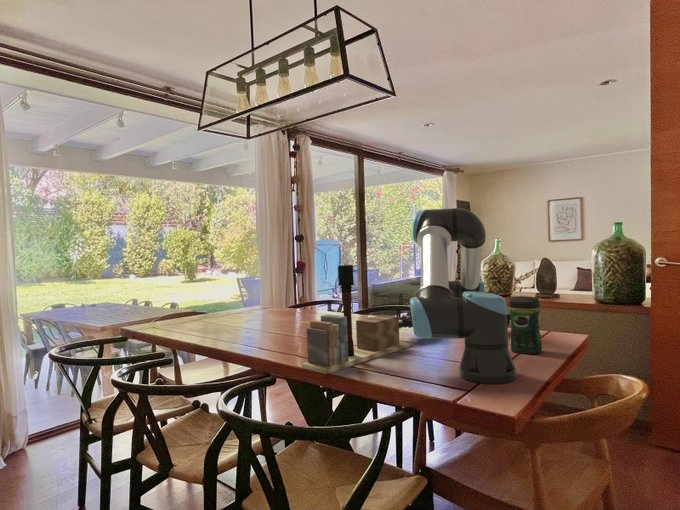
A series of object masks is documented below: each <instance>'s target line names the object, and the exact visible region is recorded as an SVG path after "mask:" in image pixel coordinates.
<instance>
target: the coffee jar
mask: <svg viewBox="0 0 680 510" xmlns="http://www.w3.org/2000/svg"><path fill="white" fill-rule="evenodd" d="M508 311H509V312H508V313H509V314H510V337H509V338H510V339H509V350H511V351H512V352H513V353H517V354H526V355H528V354H529V355H530V354H531V355H533V354H540V353H541V352H542V351H543V346H542V337H541V332H540V331H541V330H540V326H539V325H540V324H539V323H540V322H539V316H540V315H539V314H540V312H541V305H540V300H539V297H537V296H528V295H527V296H525V295H522V296H520V295H519V296H512V297H510V298H509V301H508Z"/></svg>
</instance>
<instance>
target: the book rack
mask: <svg viewBox="0 0 680 510" xmlns="http://www.w3.org/2000/svg"><path fill="white" fill-rule="evenodd" d="M399 341H400V344H398V345H395V346H392V347H389V348H386V349H382V350H379V351H376V352H372V351H367V350H361V349H357V346H356V347H354V356H348V334H347V317H344V315H343V316H341V315H334V314H324V315H320V320H317V319H316V320H315V319H314V320H310V321H309V327H306V344H307V347H306V348H307V361H305V362H301V369H304V370H308V371H312V372H316V373H320V374H324V375H328V374H330V373H333V372H336V371H340V370H343V369H345V368H348V367H352V366H355V365H359V364H361V363H364V362H368V361H370V360H373V359H376V358H380V357H382V356H385V355H388V354H391V353H395V352H397V351H400V350H403V349H407V348H410V347H412V346H413V341H410V340H409V341H408V340H403V339H399Z"/></svg>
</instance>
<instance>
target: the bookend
mask: <svg viewBox="0 0 680 510" xmlns="http://www.w3.org/2000/svg"><path fill="white" fill-rule="evenodd" d="M399 318H400V317H399V316H396V315H387V314H378V315H376V316H375V315H374V316H370V317H366V318H365V317H364V318H362V319H357V320H356V321H355V325H356V326H355V328H356V332H355V333H356V347H357V349H361V350H367V351H372V352H376V351H379V350H382V349H386V348H389V347H392V346H395V345H398V344H400V341H399V340H400V329H399Z"/></svg>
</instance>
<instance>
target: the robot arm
mask: <svg viewBox="0 0 680 510" xmlns="http://www.w3.org/2000/svg"><path fill="white" fill-rule="evenodd" d="M412 222H413V224H412V239H413V242H414V243H416V244H417V245H418V246H419V247H420V249H421V250H420V281H419V283H420V285H419V286H420V288H419V289H418V290H417V291H416V293H415V295H414V296H413V297H410V298H409V308H410V313H411V315H408V316H407V315H405V314H404V315H402V316H400V317H399V330H400V329H402V328H409V329H410V328H412V329H413V330H412V331H413V334H414V336H415V337H417V338H420V339H429V340H430V339H463V340H464V349H463V353H462V355H461V360H460V362H459V367H458V368H459V369H458V371H459V373H458V374H459V377H460V378H462V379H463V380H466V381H469V382H472V383H473V382H475V383H479V384H489V385H490V384H493V385H495V384H505V383H510V382H513V381H514V380H516V378H517V368H516V366H515V363H514V361H513V358H512V355H511V352H510V348H509V331H508V326H509V325H508V315H509V312H508V305H507V304H508V303H507V300H506V299H505V298H504V297H503V296H501V295H498V294H494V293H489V292H485V290H486V287H485V282H484V281H483V280H481V272H482V271H481V267H482V266H481V265H482V249H483V246H484V244H485V242H486V239H487V237H486V235H487V234H486V229H485V226H484V224H483V221H482V220H481V219H480V218H479V217H478V216H477V214H475V213H474V212H472V211H471V210H469V209H466V208H463V207H462V208H461V207H456V208H455V207H454V208H436V209H435V208H434V209H423V210H422V209H421V210H418V211H416V212H415V214H414V217H413V221H412ZM452 242H458V244H459V245H460V280H450V279H449V261H448V248H449V247H450V245H451V243H452Z"/></svg>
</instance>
